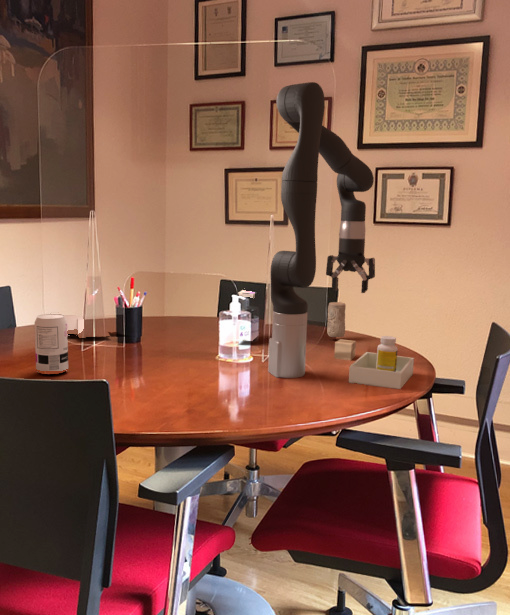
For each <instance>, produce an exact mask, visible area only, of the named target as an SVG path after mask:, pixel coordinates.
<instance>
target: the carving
mask: <svg viewBox="0 0 510 615" xmlns="http://www.w3.org/2000/svg"><path fill="white" fill-rule="evenodd" d="M346 306H347V305H346V303H345V302H342V301H341V302H340V301H339V302H337V301H332V302H329V303H328V306H327V327H326V330H327V331H326V332H327V335H328V337H332V338H342V337H345V334H346Z"/></svg>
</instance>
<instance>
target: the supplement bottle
mask: <svg viewBox="0 0 510 615" xmlns="http://www.w3.org/2000/svg"><path fill="white" fill-rule="evenodd" d="M396 341H397V338H396V337H394V336H389V335H383V336H382V335H381V337H380V344H378V345H377V349H376V353H377V360H376V369H379V370H386V371H393V372H396V364H397V356H398V352H399V351H398V347H397V345H395V344H396V343H397V342H396Z"/></svg>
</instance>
